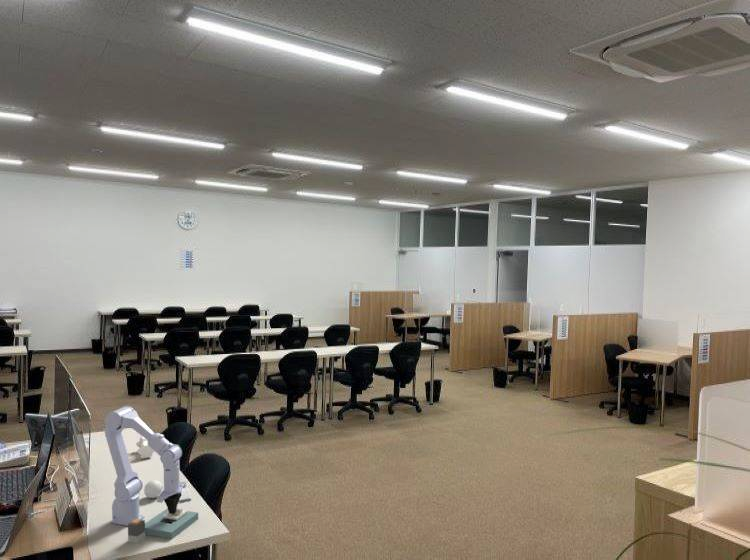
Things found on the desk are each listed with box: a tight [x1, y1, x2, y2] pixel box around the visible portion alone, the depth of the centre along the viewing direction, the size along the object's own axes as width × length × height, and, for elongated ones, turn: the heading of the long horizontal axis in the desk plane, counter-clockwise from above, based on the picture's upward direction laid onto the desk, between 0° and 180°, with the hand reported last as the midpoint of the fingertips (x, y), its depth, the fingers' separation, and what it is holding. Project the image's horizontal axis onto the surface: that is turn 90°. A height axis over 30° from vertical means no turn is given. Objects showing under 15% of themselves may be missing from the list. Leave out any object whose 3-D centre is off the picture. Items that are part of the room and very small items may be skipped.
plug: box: [127, 519, 146, 544], centre depth 197 cm, size 4×4×7 cm
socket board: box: [145, 507, 199, 540], centre depth 207 cm, size 14×16×2 cm
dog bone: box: [135, 435, 156, 460], centre depth 282 cm, size 15×9×8 cm, turn 26°
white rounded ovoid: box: [143, 479, 164, 499], centre depth 233 cm, size 10×7×7 cm
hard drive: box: [178, 486, 192, 503], centre depth 233 cm, size 2×8×12 cm
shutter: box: [163, 506, 188, 520], centre depth 210 cm, size 6×6×3 cm
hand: (172, 512), depth 208 cm, fingers closed
